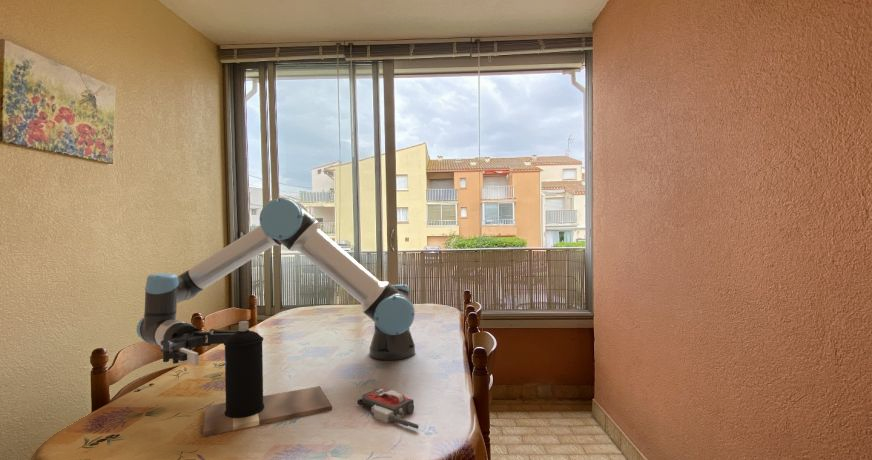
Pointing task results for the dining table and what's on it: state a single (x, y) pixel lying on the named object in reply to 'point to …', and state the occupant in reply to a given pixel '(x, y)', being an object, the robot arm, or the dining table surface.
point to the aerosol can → (243, 373)
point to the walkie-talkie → (388, 406)
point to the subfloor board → (268, 410)
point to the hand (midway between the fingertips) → (225, 351)
